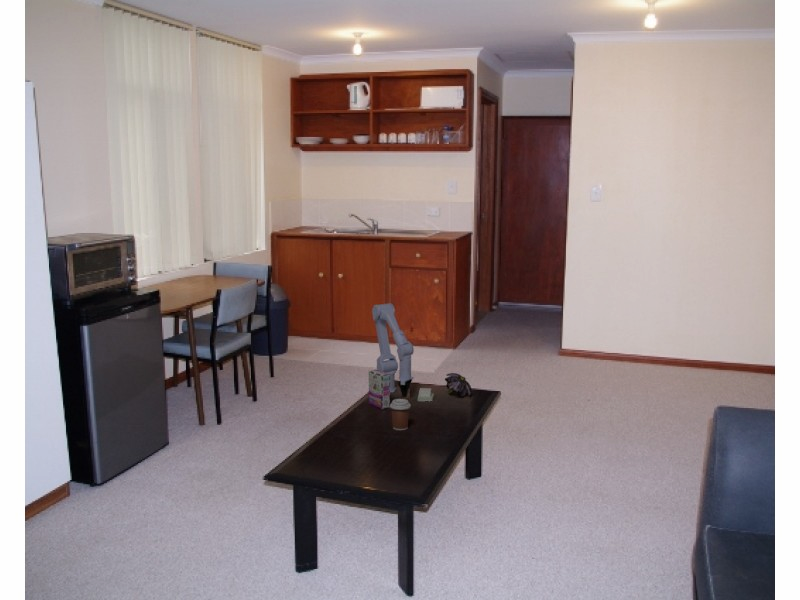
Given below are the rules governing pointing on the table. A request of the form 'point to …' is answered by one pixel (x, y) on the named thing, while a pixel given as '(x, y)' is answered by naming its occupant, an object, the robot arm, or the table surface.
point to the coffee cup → (400, 413)
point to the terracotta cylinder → (407, 395)
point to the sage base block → (426, 398)
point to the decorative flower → (458, 384)
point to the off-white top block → (425, 392)
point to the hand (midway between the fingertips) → (405, 395)
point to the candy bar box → (379, 389)
